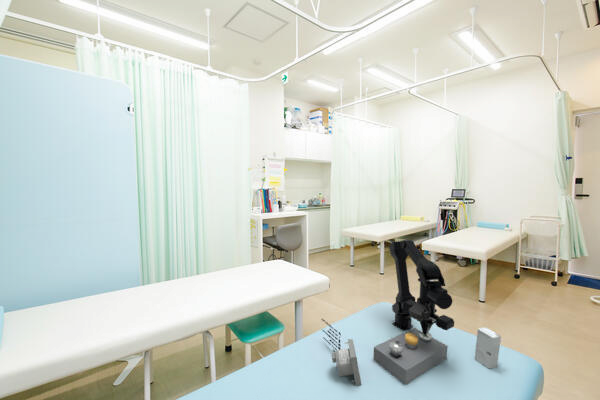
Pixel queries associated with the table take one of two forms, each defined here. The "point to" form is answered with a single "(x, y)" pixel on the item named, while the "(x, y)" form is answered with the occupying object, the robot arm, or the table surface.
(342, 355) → the grey ridged piece
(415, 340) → the middle button
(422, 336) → the far button
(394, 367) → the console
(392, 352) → the near button
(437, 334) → the table surface
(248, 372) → the table surface
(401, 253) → the robot arm
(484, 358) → the skincare box
